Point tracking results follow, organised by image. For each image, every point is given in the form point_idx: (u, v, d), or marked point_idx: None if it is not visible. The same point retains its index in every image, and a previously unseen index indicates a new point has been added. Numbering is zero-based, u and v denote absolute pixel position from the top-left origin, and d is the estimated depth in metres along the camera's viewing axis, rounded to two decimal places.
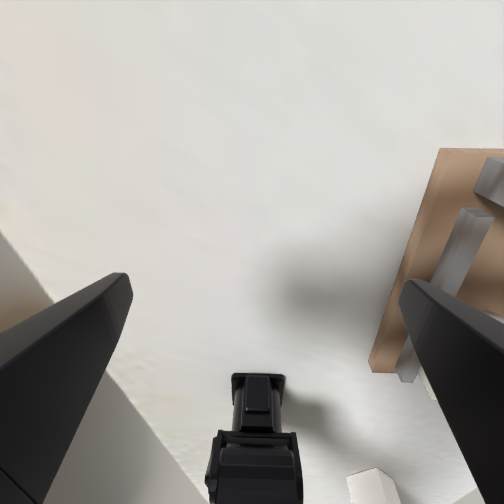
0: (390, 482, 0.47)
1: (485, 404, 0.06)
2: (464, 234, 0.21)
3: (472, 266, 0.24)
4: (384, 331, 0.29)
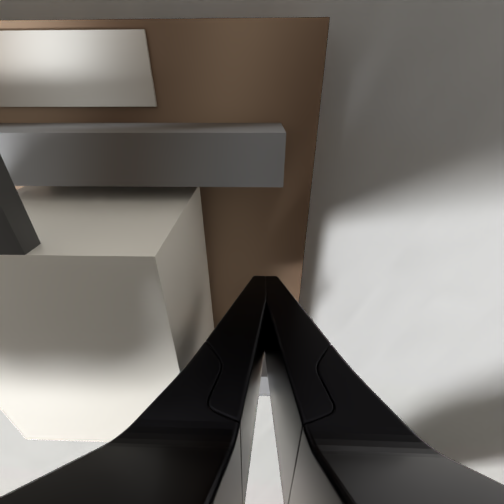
0: None
1: (278, 398, 0.06)
2: None
3: None
4: None
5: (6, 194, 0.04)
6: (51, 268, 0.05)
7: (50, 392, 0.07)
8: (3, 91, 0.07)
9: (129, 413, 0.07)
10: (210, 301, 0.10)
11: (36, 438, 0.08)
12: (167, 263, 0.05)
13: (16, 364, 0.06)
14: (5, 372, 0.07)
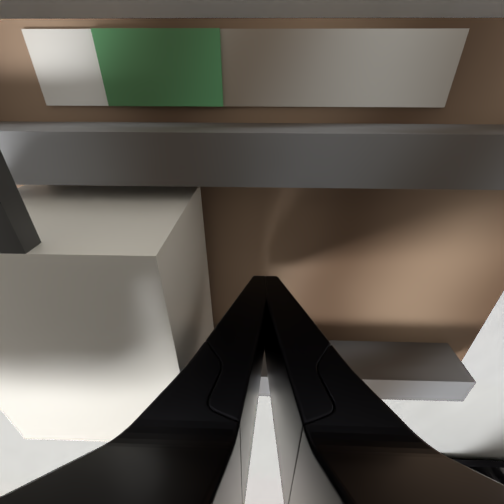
0: None
1: (278, 398, 0.06)
2: None
3: None
4: None
5: (7, 192, 0.04)
6: (51, 266, 0.05)
7: (49, 392, 0.07)
8: (288, 91, 0.07)
9: (128, 412, 0.07)
10: (210, 301, 0.10)
11: (35, 437, 0.08)
12: (168, 263, 0.05)
13: (15, 363, 0.06)
14: (4, 371, 0.06)
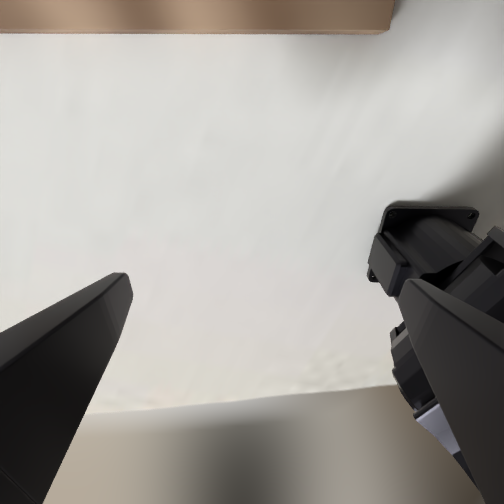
0: None
1: (485, 404, 0.06)
2: None
3: None
4: (266, 31, 0.14)
5: None
6: None
7: None
8: None
9: None
10: None
11: None
12: None
13: None
14: None
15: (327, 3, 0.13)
